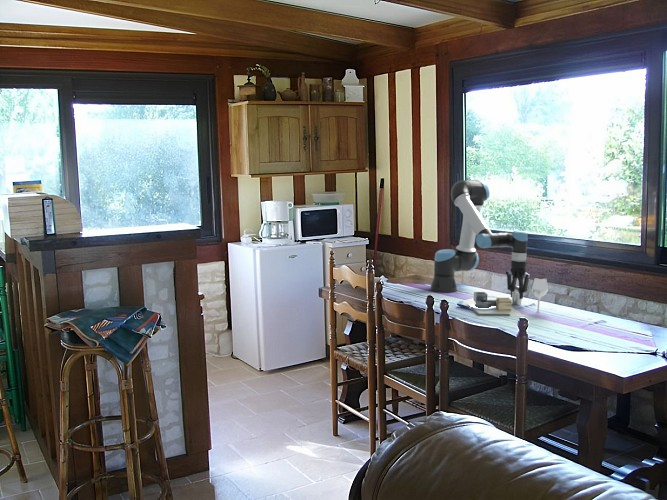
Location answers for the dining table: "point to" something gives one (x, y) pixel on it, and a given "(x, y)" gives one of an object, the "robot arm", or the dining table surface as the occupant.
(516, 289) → the crank pin
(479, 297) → the crank wheel
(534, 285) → the wineglass
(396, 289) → the dining table surface
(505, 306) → the crate
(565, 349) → the dining table surface
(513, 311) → the deck
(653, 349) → the dining table surface
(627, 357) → the dining table surface
